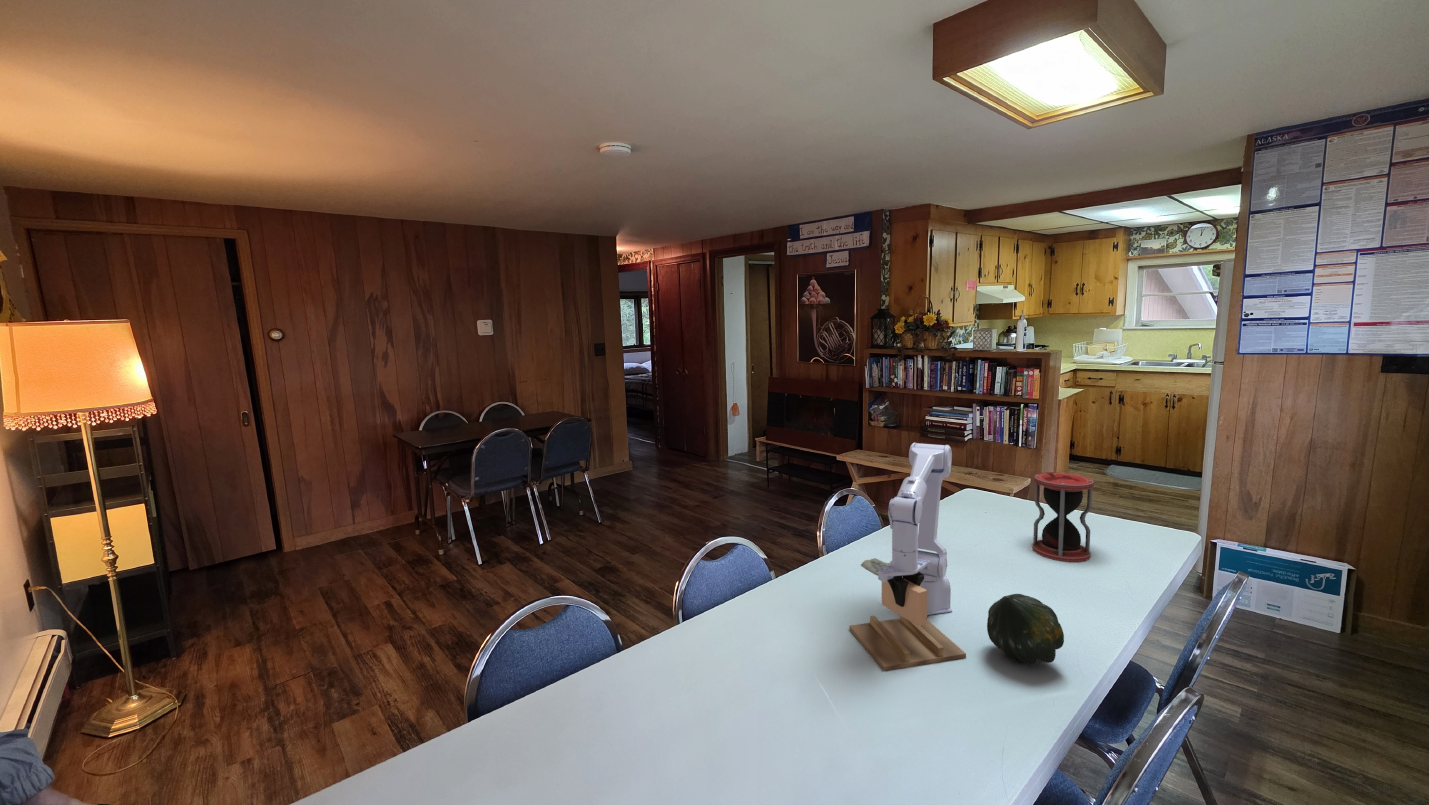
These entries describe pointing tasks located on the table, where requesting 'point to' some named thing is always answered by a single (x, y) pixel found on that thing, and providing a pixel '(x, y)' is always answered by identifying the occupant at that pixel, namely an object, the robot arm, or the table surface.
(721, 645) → the table surface
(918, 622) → the clay block
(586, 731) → the table surface
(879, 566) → the ceramic fragment
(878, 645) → the ribbed wooden panel
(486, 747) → the table surface
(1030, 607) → the squash
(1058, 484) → the hourglass
